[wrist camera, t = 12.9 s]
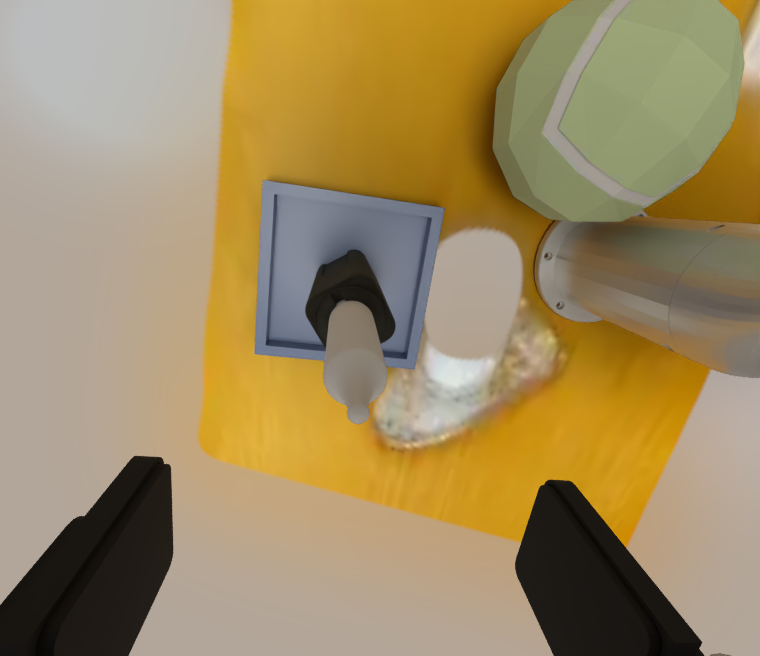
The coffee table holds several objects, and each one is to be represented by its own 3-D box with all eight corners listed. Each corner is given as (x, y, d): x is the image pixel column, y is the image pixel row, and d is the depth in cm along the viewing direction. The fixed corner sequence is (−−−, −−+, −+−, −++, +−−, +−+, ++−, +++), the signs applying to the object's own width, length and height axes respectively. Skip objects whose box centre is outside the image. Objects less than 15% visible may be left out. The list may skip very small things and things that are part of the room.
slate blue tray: (439, 207, 37) (444, 207, 35) (411, 360, 42) (414, 369, 40) (267, 181, 35) (262, 180, 33) (259, 345, 40) (254, 354, 38)
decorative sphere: (659, 98, 36) (868, 33, 22) (562, 243, 39) (687, 270, 25) (533, -5, 32) (682, -163, 18) (439, 165, 36) (503, 144, 22)
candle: (359, 244, 37) (390, 329, 13) (383, 291, 38) (448, 439, 15) (312, 269, 37) (260, 395, 14) (337, 314, 39) (331, 496, 15)
